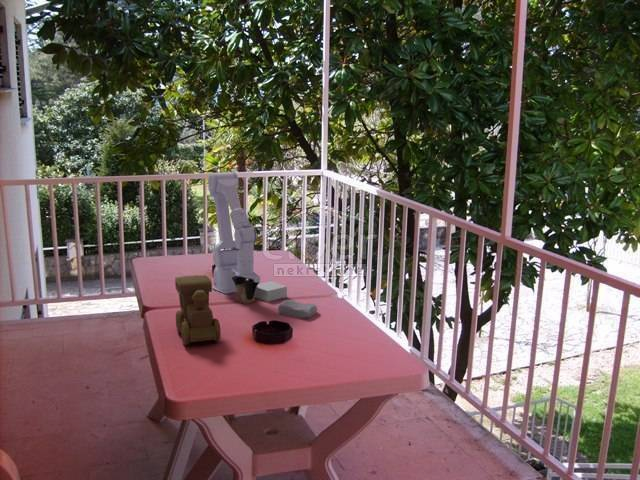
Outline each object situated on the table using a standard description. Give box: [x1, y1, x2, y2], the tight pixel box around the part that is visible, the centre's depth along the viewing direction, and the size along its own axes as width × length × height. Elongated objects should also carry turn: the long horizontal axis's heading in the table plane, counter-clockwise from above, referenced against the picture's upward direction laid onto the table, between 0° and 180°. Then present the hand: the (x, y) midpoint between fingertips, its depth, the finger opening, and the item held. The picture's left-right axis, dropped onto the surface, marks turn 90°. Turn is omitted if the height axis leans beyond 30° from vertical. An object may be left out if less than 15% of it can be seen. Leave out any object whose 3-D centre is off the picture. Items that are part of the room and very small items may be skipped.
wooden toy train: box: [174, 274, 221, 346], centre depth 201 cm, size 20×11×17 cm, turn 21°
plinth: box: [255, 280, 288, 303], centre depth 242 cm, size 9×9×4 cm
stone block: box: [277, 299, 318, 320], centre depth 225 cm, size 12×5×10 cm
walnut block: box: [236, 283, 256, 305], centre depth 236 cm, size 4×4×6 cm
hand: (245, 297), depth 237 cm, fingers open, 5 cm apart
